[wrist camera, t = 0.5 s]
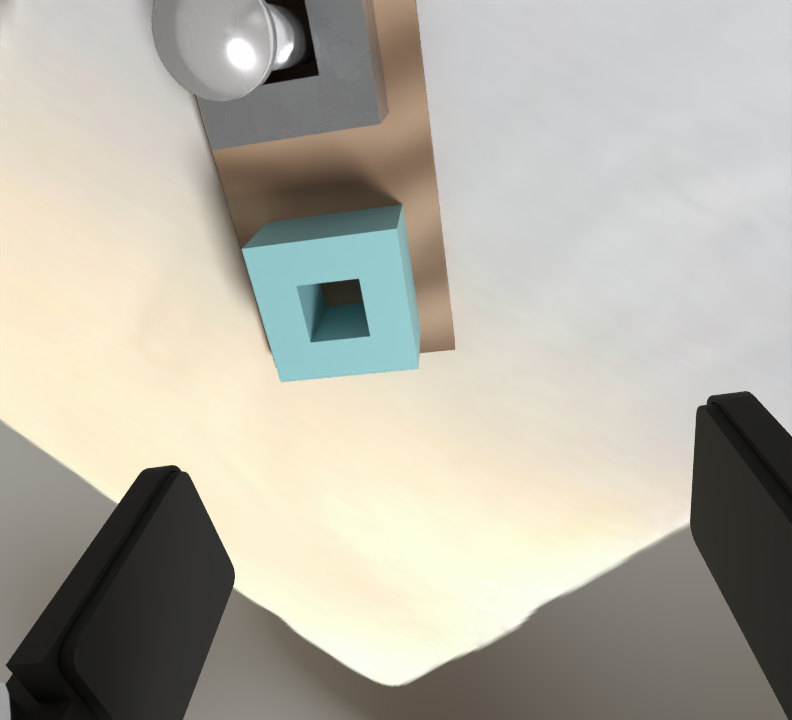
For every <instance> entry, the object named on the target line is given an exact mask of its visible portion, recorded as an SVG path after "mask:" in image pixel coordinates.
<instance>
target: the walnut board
mask: <svg viewBox="0 0 792 720" xmlns="http://www.w3.org/2000/svg"><path fill="white" fill-rule="evenodd" d="M268 4H272V5H276V6H281V7H285V8H289V9H294V10H298V11H302V12H305V13H307V9H306V4H305V0H283V1H278V2H272V3H268ZM373 5H374V11H375V18H376V25H377V32H378V39H379V46H380V53H381V60H382V66H383V73H384V80H385V87H386V94H387V101H388V108H389V113H388V115H387V116H386V118H385V119H384V120H383V122H382V123H381V124H378V125H371V126H365V127H359V128H352V129H346V130H340V131H333V132H327V133H320V134H314V135H308V136H301V137H295V138H289V139H282V140H276V141H269V142H263V143H257V144H250V145H244V146H238V147H231V148H225V149H219V150H212V153H213V156H214V159H215V163H216V166H217V169H218V173H219V176H220V180H221V183H222V186H223V190H224V193H225V197H226V200H227V203H228V207H229V210H230V214H231V217H232V220H233V224H234V227H235V231H236V234H237V237H238V241H239V244H240V248H241V251H242V248H243V247H244V246H245V245H246V244H247V243H248V242H249V241H250V240H251V239H252V238H253V237H254V236H255V235H256V234H257V233H258V231H259V230H260V229H261V228H262V227H263V226H264V225H265V224H266V223H269V222H276V221H283V220H290V219H298V218H305V217H312V216H320V215H327V214H334V213H342V212H349V211H356V210H364V209H371V208H378V207H386V206H393V205H400V204H403V211H404V218H405V225H406V231H407V238H408V245H409V252H410V259H411V266H412V273H413V280H414V286H415V293H416V300H417V307H418V314H419V321H420V328H421V337H420V351H419V353H425V352H435V351H445V350H455V339H454V330H453V322H452V313H451V304H450V295H449V287H448V278H447V269H446V260H445V252H444V243H443V234H442V225H441V217H440V208H439V199H438V190H437V182H436V173H435V164H434V155H433V147H432V138H431V129H430V120H429V112H428V103H427V94H426V85H425V77H424V68H423V59H422V50H421V42H420V33H419V24H418V15H417V7H416V0H373ZM315 74H319V71H318V65H317V60H316V58H315V59H314V60H313V61H312V62H311V63H309V64H307V65H304V66H298V67H292V68H286V69H280V70H273V71H272V75H273V79H274V81H280V80H285V79H291V78H297V77H303V76H309V75H315ZM196 98H197V96H196ZM197 102H198V99H197ZM198 105H199V102H198ZM199 108H200V106H199ZM200 112H201V109H200ZM201 115H202V113H201ZM202 119H203V116H202ZM203 122H204V119H203ZM204 125H205V123H204ZM205 129H206V126H205ZM206 132H207V130H206ZM207 136H208V133H207ZM208 139H209V136H208ZM209 142H210V140H209ZM210 146H211V143H210ZM211 149H212V147H211ZM242 254H243V252H242ZM243 258H244V256H243ZM244 261H245V259H244ZM245 265H246V262H245ZM246 268H247V266H246ZM247 271H248V269H247ZM248 275H249V273H248ZM249 278H250V276H249ZM250 282H251V279H250ZM251 285H252V283H251ZM321 287H322V292H323V296H324V300H325V305H326V307H331V306H340V305H348V304H357V303H364V301H363V296H362V291H361V286H360V281H359V279H351V280H343V281H334V282H326V283H321ZM252 288H253V286H252ZM253 292H254V290H253ZM254 295H255V293H254ZM255 298H256V296H255ZM256 302H257V300H256ZM257 305H258V303H257ZM258 309H259V307H258ZM259 312H260V310H259ZM260 315H261V313H260ZM261 319H262V317H261ZM262 322H263V320H262ZM263 326H264V324H263ZM264 329H265V327H264ZM265 332H266V330H265ZM266 336H267V334H266ZM267 339H268V337H267ZM268 343H269V341H268ZM269 346H270V344H269ZM270 349H271V347H270ZM271 353H272V351H271ZM272 356H273V354H272ZM273 360H274V358H273ZM274 363H275V361H274ZM275 366H276V364H275Z"/></svg>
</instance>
